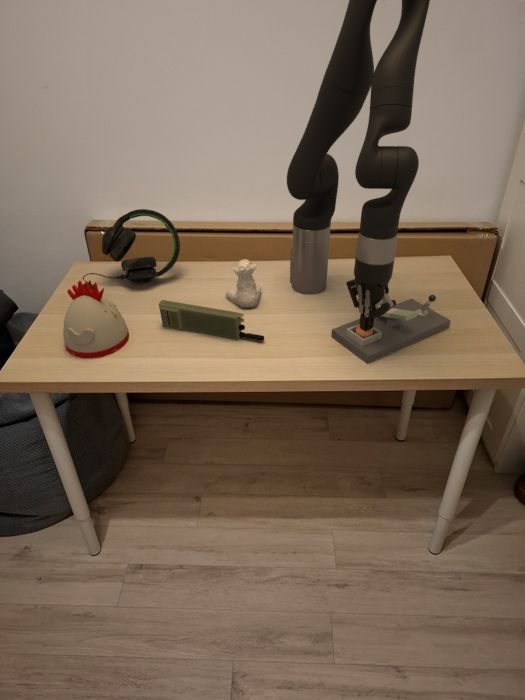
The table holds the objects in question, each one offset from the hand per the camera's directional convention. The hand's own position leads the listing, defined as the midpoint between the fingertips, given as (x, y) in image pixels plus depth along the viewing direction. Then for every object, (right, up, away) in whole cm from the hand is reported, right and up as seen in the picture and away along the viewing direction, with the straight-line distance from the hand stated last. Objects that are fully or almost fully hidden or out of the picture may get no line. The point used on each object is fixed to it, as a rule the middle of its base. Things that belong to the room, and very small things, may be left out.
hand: (365, 328), depth 104 cm
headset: (-57, +13, +27) cm, 64 cm away
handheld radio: (-34, -1, +7) cm, 35 cm away
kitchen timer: (-60, -3, +5) cm, 60 cm away
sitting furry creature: (-26, +7, +18) cm, 33 cm away
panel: (+7, -1, +6) cm, 9 cm away
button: (0, -2, +1) cm, 2 cm away
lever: (+15, +5, +9) cm, 18 cm away
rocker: (+7, +3, +4) cm, 9 cm away
